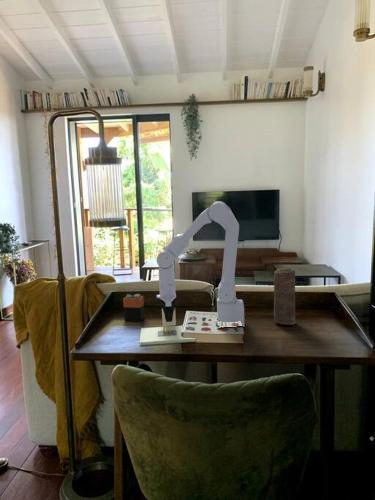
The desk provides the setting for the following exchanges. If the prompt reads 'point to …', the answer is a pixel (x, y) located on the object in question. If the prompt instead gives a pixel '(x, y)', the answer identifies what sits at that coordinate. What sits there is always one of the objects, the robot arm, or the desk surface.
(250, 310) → the desk surface
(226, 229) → the robot arm
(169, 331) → the header board
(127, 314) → the battery
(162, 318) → the housing
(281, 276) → the candle
